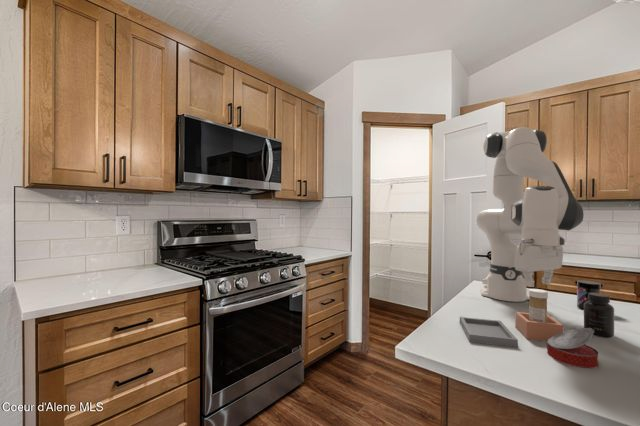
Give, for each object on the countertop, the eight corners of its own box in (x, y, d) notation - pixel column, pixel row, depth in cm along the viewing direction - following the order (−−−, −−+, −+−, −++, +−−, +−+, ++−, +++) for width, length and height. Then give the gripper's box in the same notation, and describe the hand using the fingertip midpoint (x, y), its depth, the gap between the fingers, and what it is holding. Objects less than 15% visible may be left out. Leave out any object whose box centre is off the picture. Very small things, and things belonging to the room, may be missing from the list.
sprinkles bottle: (549, 335, 88) (550, 290, 88) (543, 339, 86) (544, 293, 86) (532, 330, 92) (532, 287, 92) (525, 333, 90) (526, 289, 90)
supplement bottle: (584, 327, 95) (584, 290, 95) (614, 333, 90) (614, 294, 90) (582, 333, 90) (583, 294, 90) (614, 340, 86) (614, 299, 86)
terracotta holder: (515, 327, 94) (515, 311, 94) (548, 330, 92) (548, 314, 92) (526, 338, 86) (526, 321, 86) (563, 343, 83) (563, 325, 83)
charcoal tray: (459, 322, 98) (459, 316, 98) (500, 327, 95) (500, 320, 95) (469, 341, 84) (469, 334, 84) (517, 347, 80) (517, 339, 80)
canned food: (586, 388, 70) (580, 356, 67) (540, 363, 79) (533, 335, 76) (612, 359, 73) (607, 328, 70) (565, 339, 82) (559, 310, 79)
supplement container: (579, 305, 119) (579, 279, 119) (602, 309, 114) (602, 282, 114) (574, 308, 115) (574, 281, 115) (597, 313, 110) (598, 285, 110)
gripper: (532, 240, 81) (531, 290, 81) (568, 239, 91) (566, 284, 91) (508, 238, 87) (507, 285, 86) (544, 238, 96) (543, 280, 96)
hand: (538, 285), depth 89 cm, fingers open, 8 cm apart
